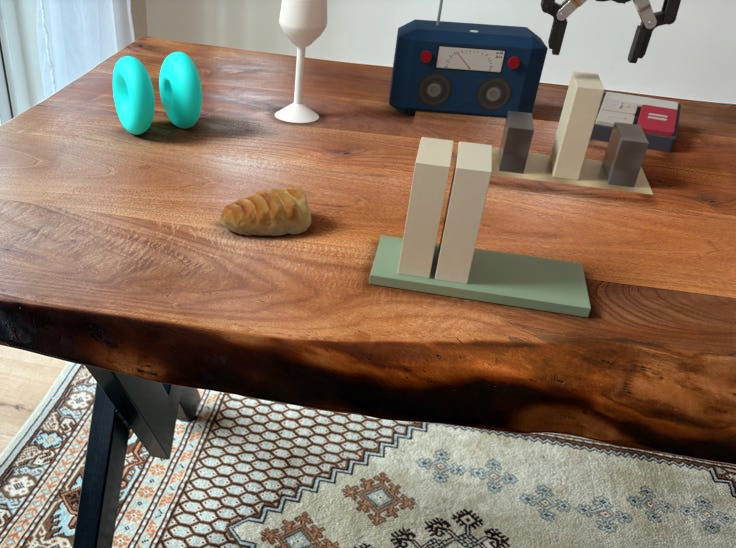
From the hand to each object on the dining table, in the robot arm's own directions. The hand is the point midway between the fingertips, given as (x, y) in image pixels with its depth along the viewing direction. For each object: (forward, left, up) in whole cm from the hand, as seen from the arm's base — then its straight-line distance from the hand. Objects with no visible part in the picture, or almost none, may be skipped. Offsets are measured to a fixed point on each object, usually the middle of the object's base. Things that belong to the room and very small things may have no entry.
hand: (593, 57), depth 89 cm
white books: (+10, +31, -15) cm, 36 cm away
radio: (+14, -22, -15) cm, 30 cm away
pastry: (+32, +26, -15) cm, 44 cm away
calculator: (-11, -20, -15) cm, 27 cm away
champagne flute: (+37, -12, -15) cm, 41 cm away
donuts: (+54, +1, -15) cm, 56 cm away
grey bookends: (0, 0, -15) cm, 15 cm away
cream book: (0, 0, -14) cm, 14 cm away
